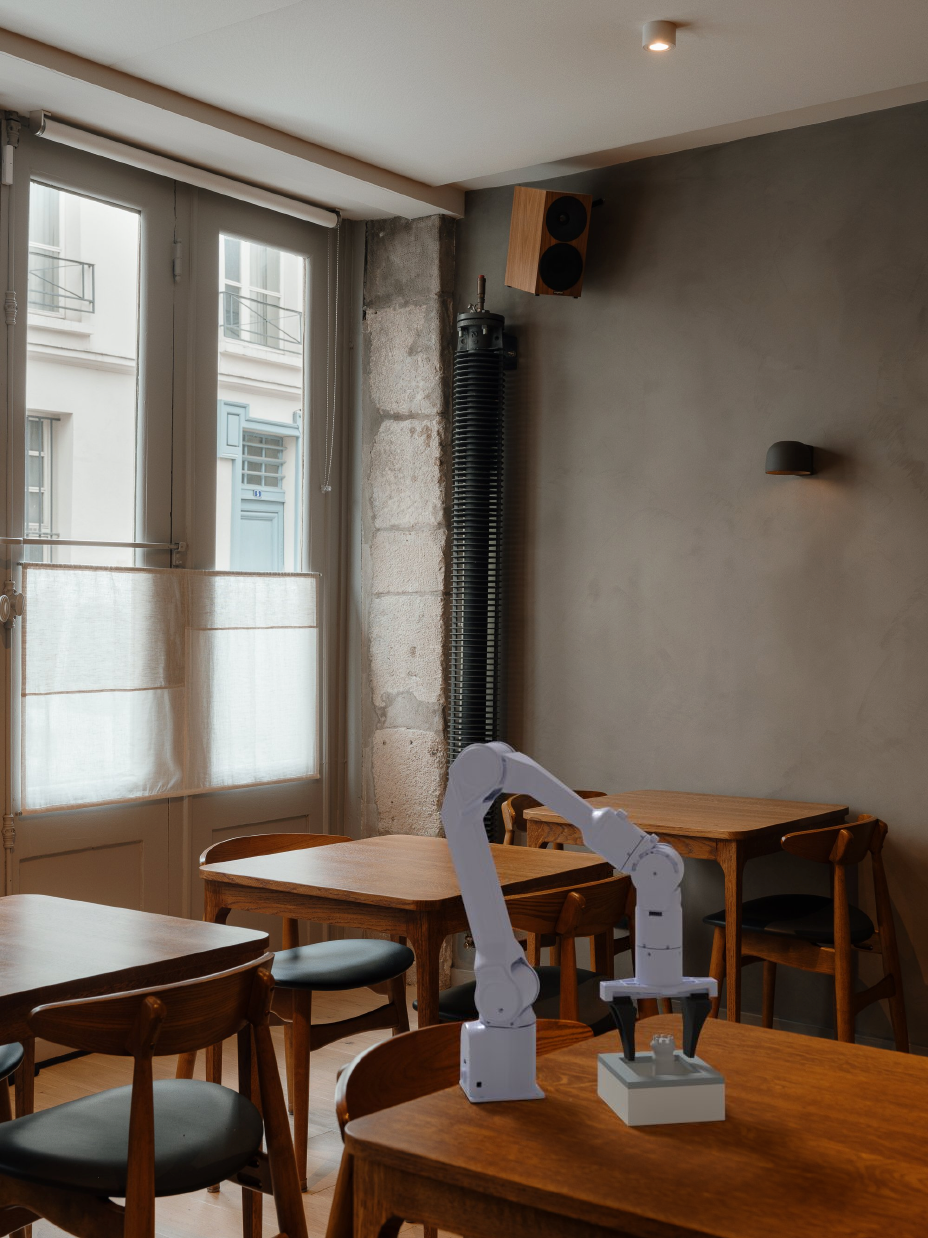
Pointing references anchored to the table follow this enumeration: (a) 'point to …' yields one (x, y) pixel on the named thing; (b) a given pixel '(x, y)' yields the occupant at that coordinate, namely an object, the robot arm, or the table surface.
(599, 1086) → the piece box
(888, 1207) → the table surface
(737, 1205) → the table surface
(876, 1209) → the table surface
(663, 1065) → the rook chess piece
